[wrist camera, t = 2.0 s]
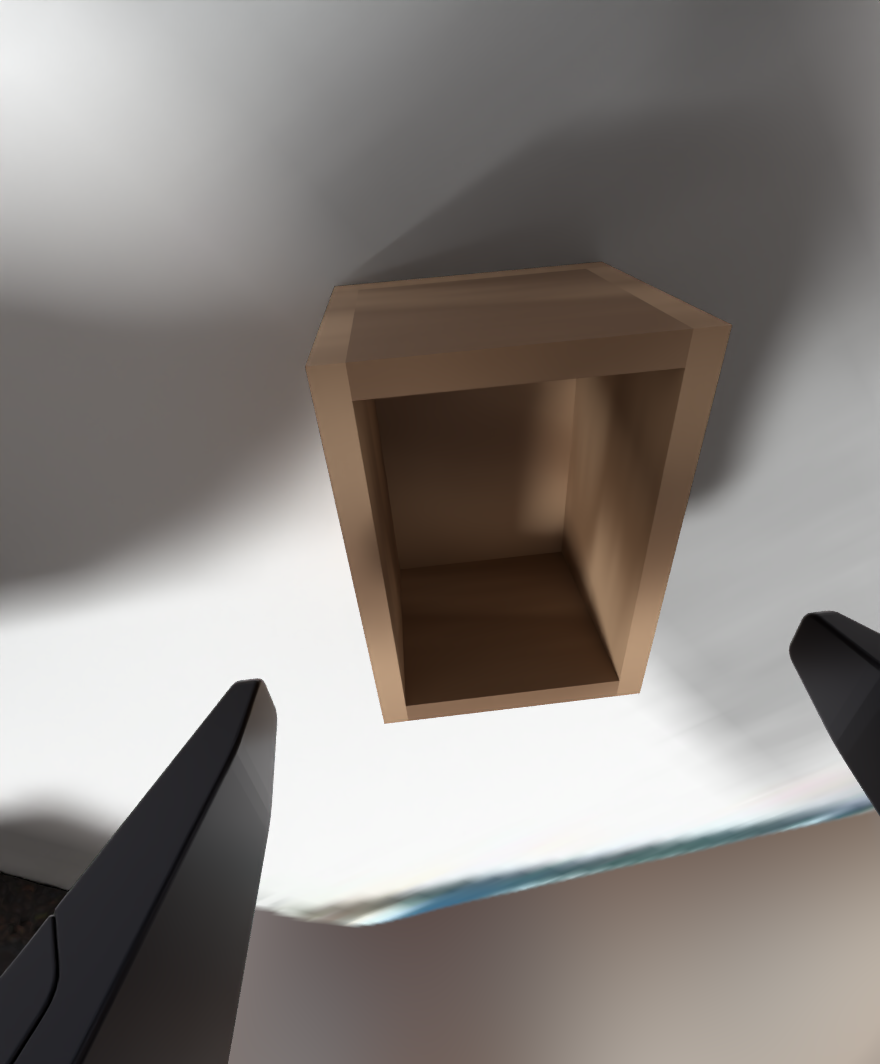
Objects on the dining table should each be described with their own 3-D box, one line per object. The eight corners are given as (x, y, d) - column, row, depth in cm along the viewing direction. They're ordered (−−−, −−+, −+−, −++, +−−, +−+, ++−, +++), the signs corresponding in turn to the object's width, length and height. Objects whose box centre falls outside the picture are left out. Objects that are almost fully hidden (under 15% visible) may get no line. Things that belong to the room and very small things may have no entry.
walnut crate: (570, 549, 18) (639, 693, 13) (384, 569, 18) (384, 723, 13) (600, 261, 13) (731, 325, 8) (334, 284, 13) (305, 366, 8)
